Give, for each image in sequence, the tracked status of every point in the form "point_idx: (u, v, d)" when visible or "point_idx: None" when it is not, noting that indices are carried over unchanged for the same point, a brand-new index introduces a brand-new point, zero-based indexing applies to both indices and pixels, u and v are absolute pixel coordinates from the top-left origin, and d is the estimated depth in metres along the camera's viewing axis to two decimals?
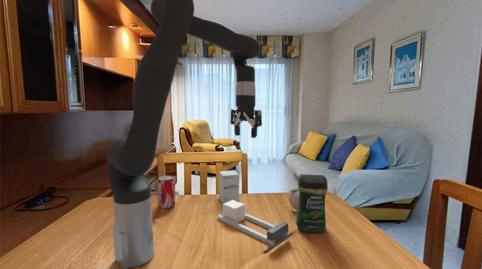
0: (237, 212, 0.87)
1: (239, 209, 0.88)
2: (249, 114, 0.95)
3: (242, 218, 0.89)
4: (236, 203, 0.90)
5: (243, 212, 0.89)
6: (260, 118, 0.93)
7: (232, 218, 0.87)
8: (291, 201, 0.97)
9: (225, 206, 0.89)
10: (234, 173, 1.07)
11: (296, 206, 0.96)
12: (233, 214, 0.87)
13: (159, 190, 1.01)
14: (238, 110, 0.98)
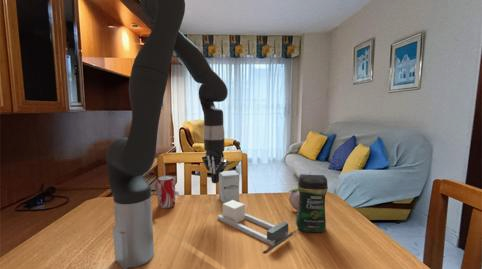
0: (237, 212, 0.87)
1: (239, 209, 0.88)
2: (216, 161, 0.92)
3: (242, 218, 0.89)
4: (236, 203, 0.90)
5: (243, 212, 0.89)
6: (224, 168, 0.92)
7: (232, 218, 0.87)
8: (291, 201, 0.97)
9: (225, 206, 0.89)
10: (234, 173, 1.07)
11: (296, 206, 0.96)
12: (233, 214, 0.87)
13: (159, 190, 1.01)
14: (207, 152, 0.96)
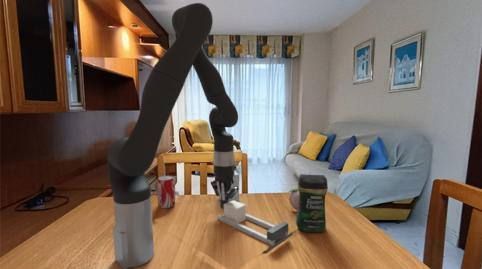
0: (238, 212, 0.87)
1: (240, 209, 0.87)
2: (226, 188, 0.90)
3: (243, 218, 0.89)
4: (237, 204, 0.90)
5: (244, 212, 0.89)
6: (233, 194, 0.90)
7: (233, 218, 0.87)
8: (291, 201, 0.97)
9: (226, 206, 0.89)
10: (234, 173, 1.07)
11: (296, 206, 0.96)
12: (234, 215, 0.86)
13: (159, 190, 1.01)
14: (216, 177, 0.93)
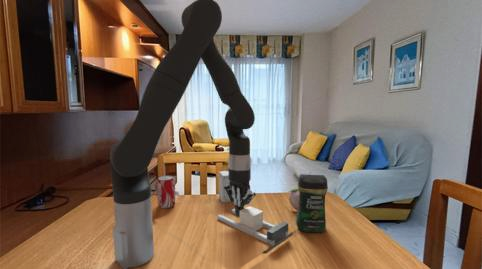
0: (256, 220, 0.82)
1: (257, 216, 0.82)
2: (242, 193, 0.85)
3: (260, 226, 0.84)
4: (253, 210, 0.84)
5: (261, 220, 0.84)
6: (250, 200, 0.85)
7: (250, 226, 0.82)
8: (291, 201, 0.97)
9: (242, 213, 0.84)
10: None
11: (296, 206, 0.96)
12: (251, 222, 0.81)
13: (159, 190, 1.01)
14: (230, 182, 0.88)
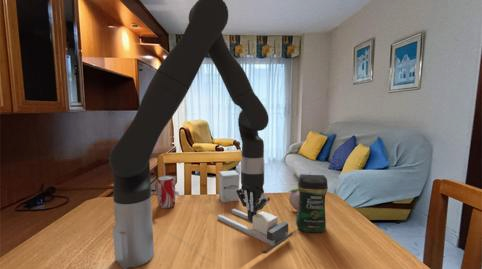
0: (270, 226, 0.78)
1: (272, 222, 0.78)
2: (255, 198, 0.81)
3: None
4: (267, 216, 0.81)
5: None
6: (264, 205, 0.81)
7: (264, 233, 0.78)
8: (291, 201, 0.97)
9: (256, 219, 0.80)
10: (234, 173, 1.07)
11: (296, 206, 0.96)
12: (266, 229, 0.77)
13: (159, 190, 1.01)
14: (243, 186, 0.84)
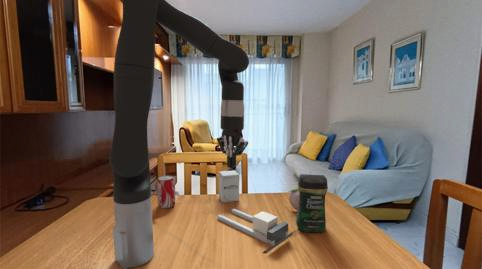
0: (270, 226, 0.78)
1: (272, 222, 0.78)
2: (234, 142, 0.80)
3: None
4: (267, 216, 0.81)
5: None
6: (242, 150, 0.80)
7: (264, 233, 0.78)
8: (291, 201, 0.97)
9: (256, 219, 0.80)
10: (234, 173, 1.07)
11: (296, 206, 0.96)
12: (266, 229, 0.77)
13: (159, 190, 1.01)
14: (223, 132, 0.83)
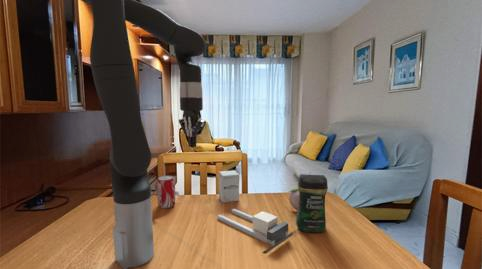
0: (270, 226, 0.78)
1: (272, 222, 0.78)
2: (193, 122, 0.85)
3: None
4: (267, 216, 0.81)
5: None
6: (201, 129, 0.85)
7: (264, 233, 0.78)
8: (291, 201, 0.97)
9: (256, 219, 0.80)
10: (234, 173, 1.07)
11: (296, 206, 0.96)
12: (266, 229, 0.77)
13: (159, 190, 1.01)
14: (183, 114, 0.88)
